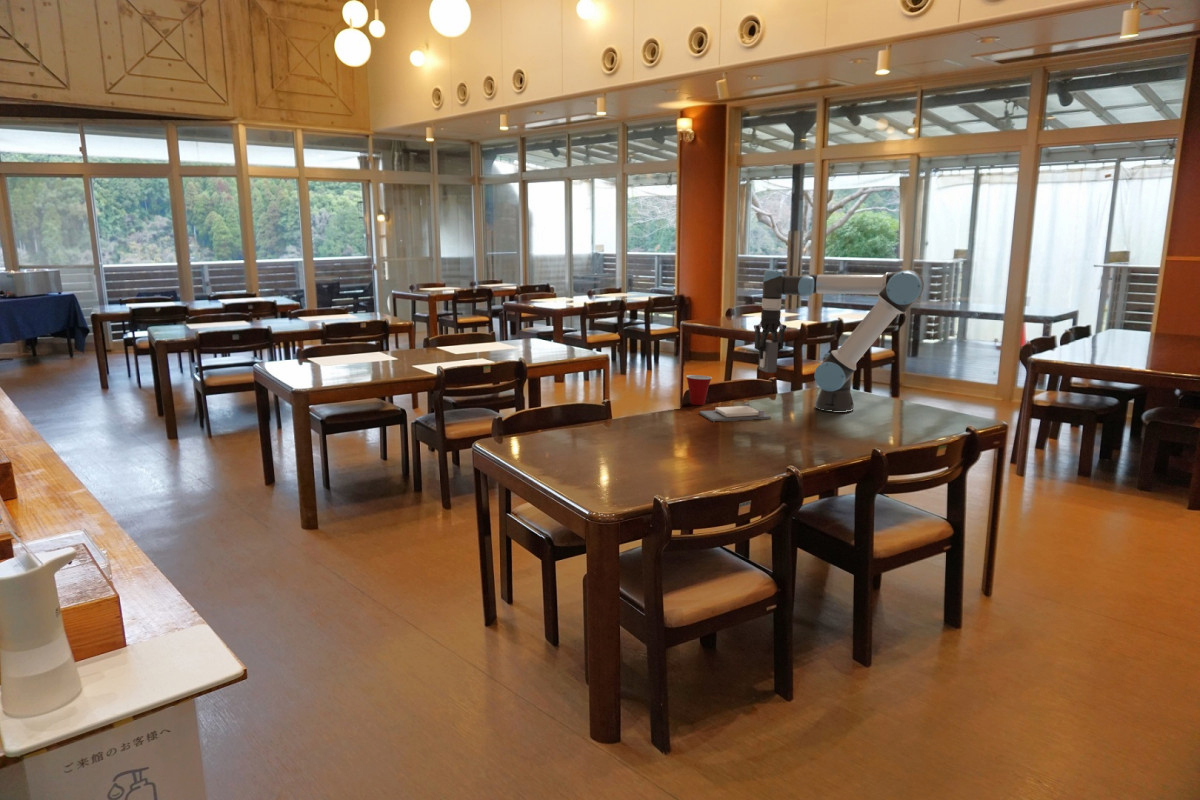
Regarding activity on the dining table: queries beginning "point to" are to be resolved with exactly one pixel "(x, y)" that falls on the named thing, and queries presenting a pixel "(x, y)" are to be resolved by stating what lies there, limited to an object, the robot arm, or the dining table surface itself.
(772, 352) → the gray rectangular block
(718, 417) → the tile mat
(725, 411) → the tile
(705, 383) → the plastic cup
